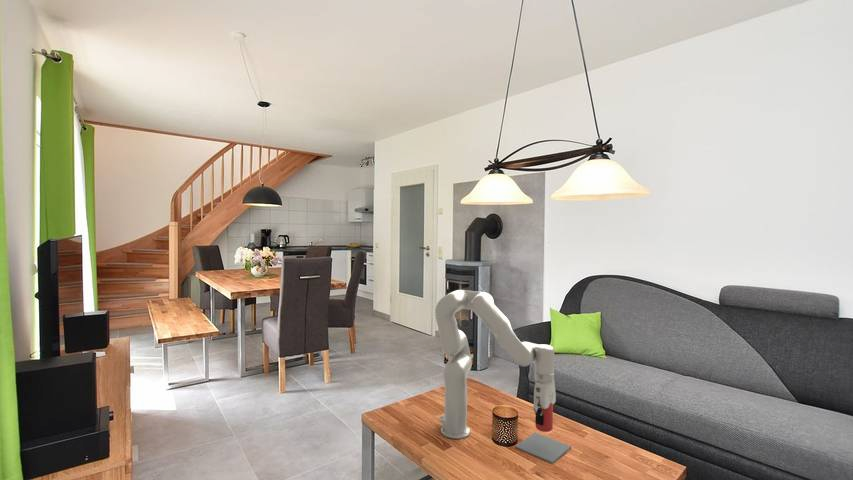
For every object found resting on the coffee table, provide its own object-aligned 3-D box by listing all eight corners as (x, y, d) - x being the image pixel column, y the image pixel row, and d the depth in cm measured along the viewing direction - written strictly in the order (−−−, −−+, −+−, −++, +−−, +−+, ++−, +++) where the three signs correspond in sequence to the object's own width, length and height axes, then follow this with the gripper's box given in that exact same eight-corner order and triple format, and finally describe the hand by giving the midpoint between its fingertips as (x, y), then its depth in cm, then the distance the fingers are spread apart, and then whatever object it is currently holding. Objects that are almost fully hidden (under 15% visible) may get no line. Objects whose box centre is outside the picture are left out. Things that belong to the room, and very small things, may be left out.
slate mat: (515, 447, 160) (515, 446, 160) (535, 433, 172) (535, 432, 172) (552, 463, 149) (552, 462, 149) (571, 447, 161) (571, 446, 161)
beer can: (553, 433, 156) (553, 402, 156) (536, 431, 158) (536, 401, 158) (551, 425, 163) (552, 396, 163) (534, 424, 164) (535, 394, 164)
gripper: (542, 384, 151) (542, 432, 151) (563, 373, 164) (562, 417, 164) (524, 379, 157) (524, 425, 157) (545, 369, 169) (545, 411, 169)
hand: (544, 420), depth 160 cm, fingers closed on beer can, 6 cm apart
